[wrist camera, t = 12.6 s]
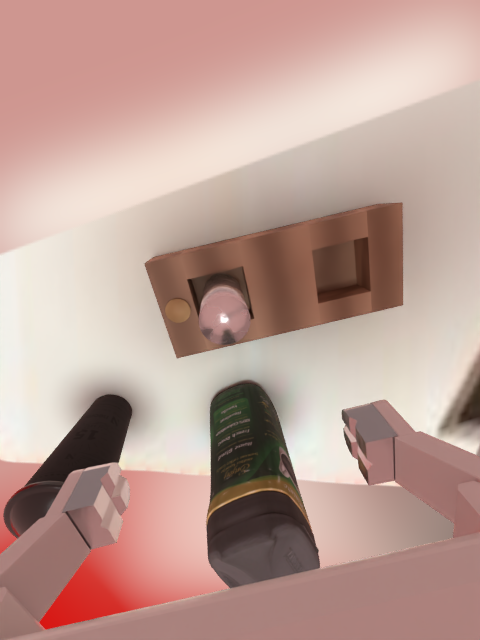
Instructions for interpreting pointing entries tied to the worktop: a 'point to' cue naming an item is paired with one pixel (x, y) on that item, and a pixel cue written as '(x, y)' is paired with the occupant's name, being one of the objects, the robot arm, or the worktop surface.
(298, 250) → the board
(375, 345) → the worktop surface
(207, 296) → the pin
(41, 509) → the drinking cup
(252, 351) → the worktop surface
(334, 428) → the worktop surface
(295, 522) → the coffee jar
